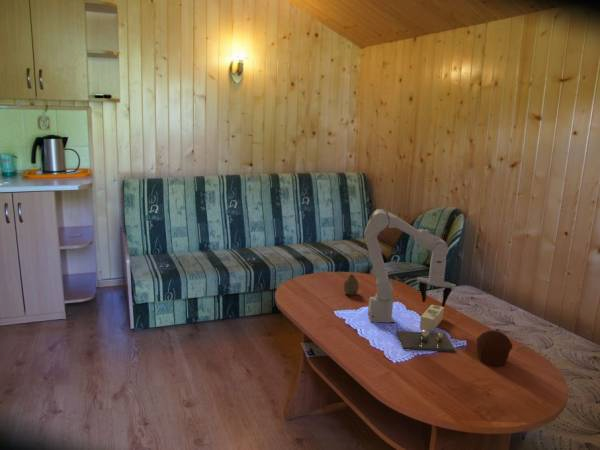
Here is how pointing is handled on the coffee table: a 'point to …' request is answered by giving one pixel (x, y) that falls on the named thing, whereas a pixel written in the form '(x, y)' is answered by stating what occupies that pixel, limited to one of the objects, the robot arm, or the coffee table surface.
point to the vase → (351, 285)
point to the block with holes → (431, 317)
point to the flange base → (425, 341)
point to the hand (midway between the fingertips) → (433, 303)
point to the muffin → (493, 348)
